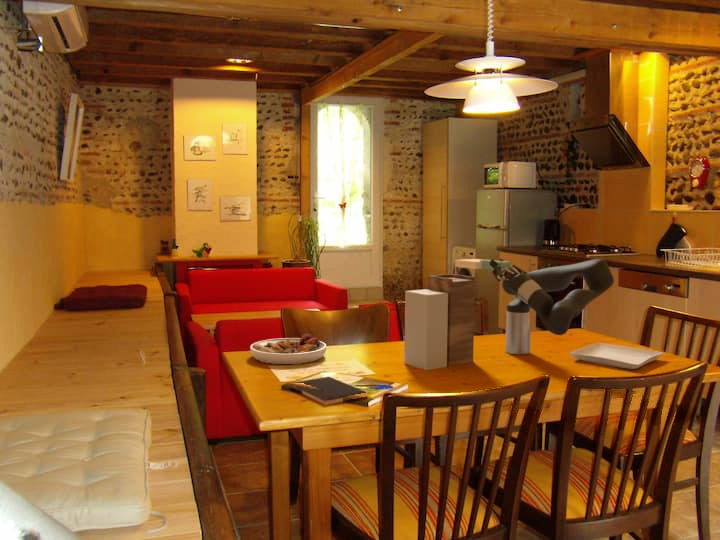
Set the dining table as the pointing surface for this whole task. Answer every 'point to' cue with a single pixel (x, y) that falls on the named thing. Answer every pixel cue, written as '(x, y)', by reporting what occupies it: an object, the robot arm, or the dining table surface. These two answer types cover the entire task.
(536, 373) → the dining table surface
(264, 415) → the dining table surface
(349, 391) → the hardcover book
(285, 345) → the bowl
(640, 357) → the square plate
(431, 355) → the tall grey pillar
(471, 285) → the wood grain pillar
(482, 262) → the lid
